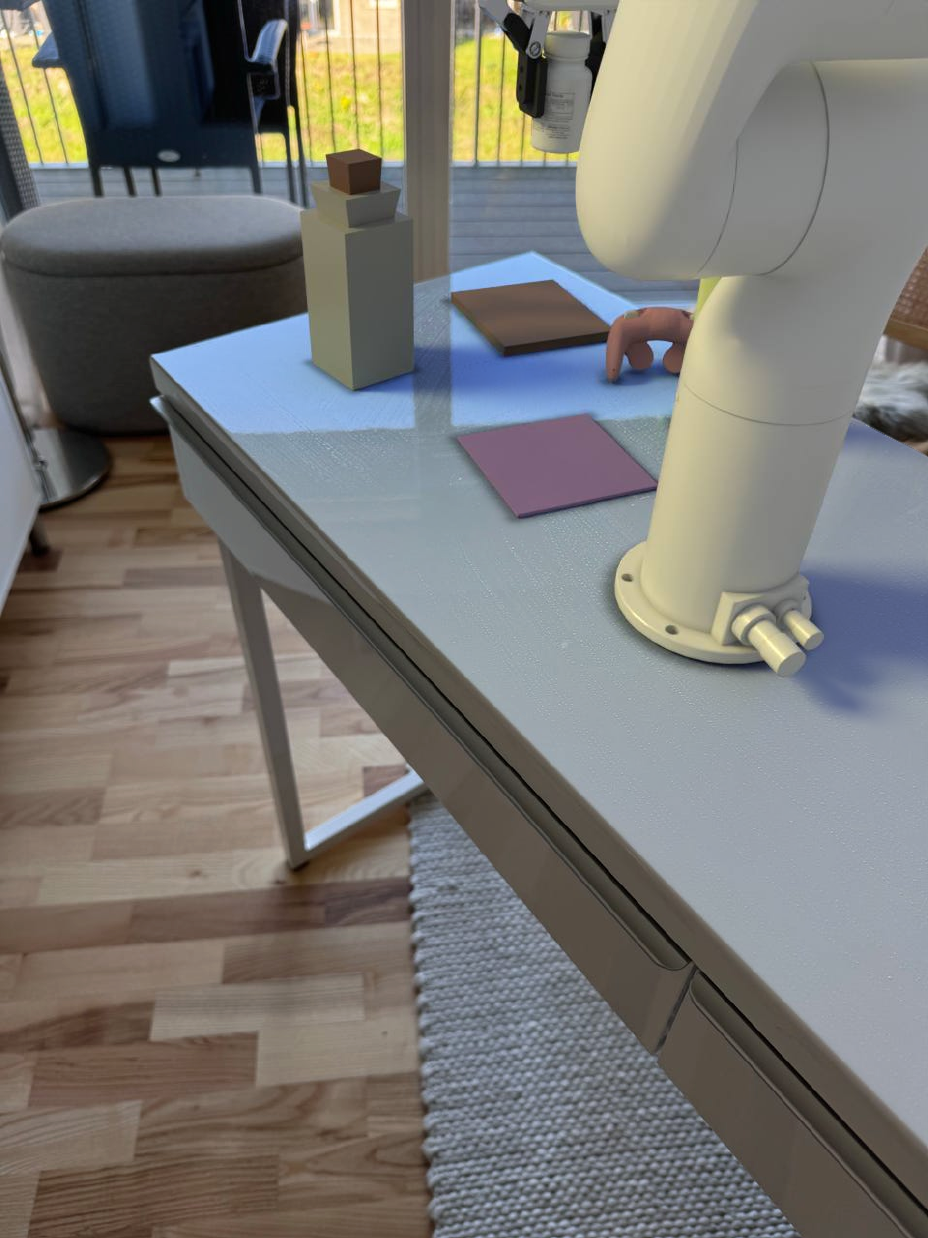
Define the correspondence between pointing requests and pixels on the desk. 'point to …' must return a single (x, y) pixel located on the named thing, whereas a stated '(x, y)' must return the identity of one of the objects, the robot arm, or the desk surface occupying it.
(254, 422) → the desk surface
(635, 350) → the video game controller
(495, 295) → the board
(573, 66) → the pill bottle
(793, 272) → the robot arm
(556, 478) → the purple square plate
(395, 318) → the perfume bottle
